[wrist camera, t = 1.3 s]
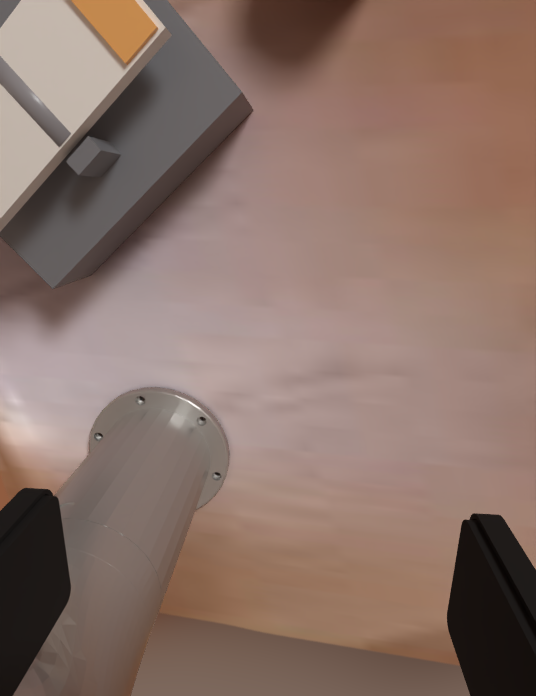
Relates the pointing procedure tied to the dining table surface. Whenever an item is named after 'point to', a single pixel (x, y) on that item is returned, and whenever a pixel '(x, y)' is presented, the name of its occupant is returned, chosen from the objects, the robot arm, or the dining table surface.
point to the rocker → (63, 81)
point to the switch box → (128, 157)
